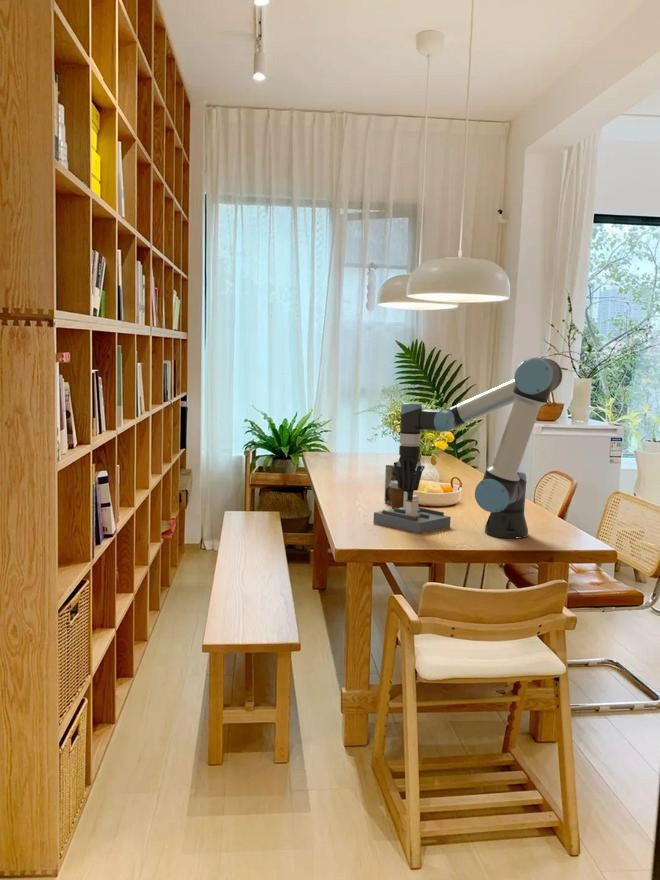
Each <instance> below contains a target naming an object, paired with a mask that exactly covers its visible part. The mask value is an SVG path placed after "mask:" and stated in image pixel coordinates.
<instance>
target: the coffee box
mask: <svg viewBox="0 0 660 880" xmlns="http://www.w3.org/2000/svg"><path fill="white" fill-rule="evenodd" d="M384 475H385V476H384V479H385V480H384V500H383V501H385V502H384V504H385V503H387V504H386V505H392V501H391V488H390V485H389V484H390V482H391V481H395V480H397V475H396V469H395V466H394V464H391V465H390V464H386V465H385V473H384Z"/></svg>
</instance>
